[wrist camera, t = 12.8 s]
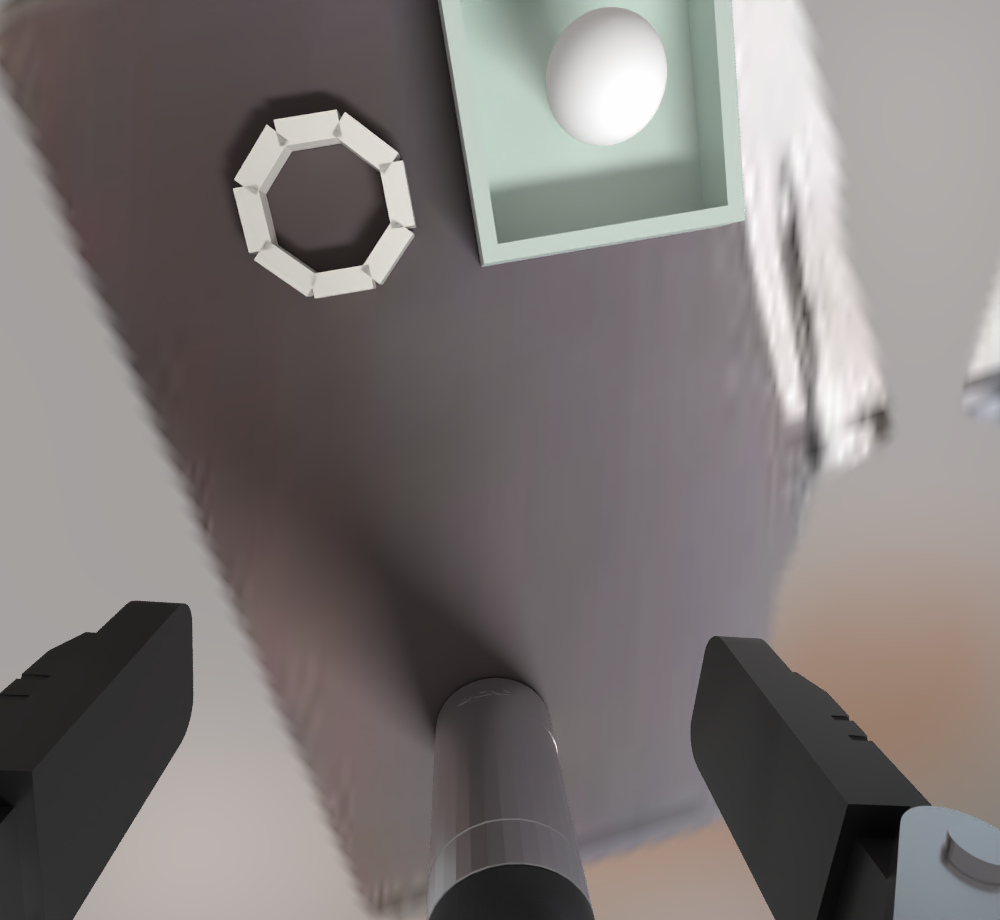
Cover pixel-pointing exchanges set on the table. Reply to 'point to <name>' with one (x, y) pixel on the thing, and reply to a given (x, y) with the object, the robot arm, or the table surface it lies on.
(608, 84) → the lightbulb
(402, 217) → the socket collar
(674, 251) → the table surface
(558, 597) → the table surface
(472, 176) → the bin
